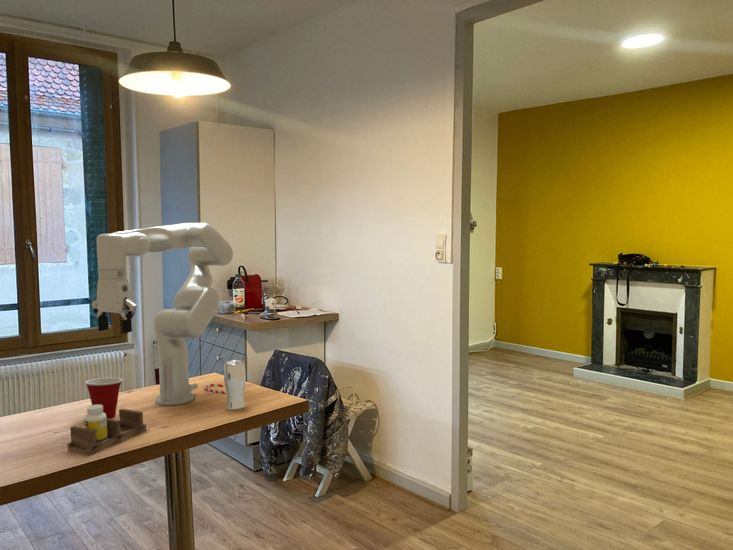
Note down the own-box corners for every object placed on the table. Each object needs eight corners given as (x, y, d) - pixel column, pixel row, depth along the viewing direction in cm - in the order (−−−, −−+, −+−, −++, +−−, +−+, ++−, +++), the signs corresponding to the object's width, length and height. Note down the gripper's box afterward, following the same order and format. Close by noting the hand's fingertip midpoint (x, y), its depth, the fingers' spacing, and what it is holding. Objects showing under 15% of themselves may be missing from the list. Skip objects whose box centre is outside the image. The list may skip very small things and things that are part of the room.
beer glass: (239, 411, 191) (238, 365, 190) (220, 409, 193) (219, 364, 192) (250, 405, 197) (249, 360, 196) (232, 403, 200) (230, 359, 198)
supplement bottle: (81, 443, 161) (79, 408, 160) (97, 436, 166) (95, 402, 165) (96, 446, 159) (94, 410, 158) (112, 439, 164) (110, 404, 163)
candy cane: (222, 394, 208) (198, 386, 218) (222, 397, 208) (198, 389, 218) (240, 389, 213) (216, 382, 223) (240, 393, 213) (216, 385, 223)
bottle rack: (126, 427, 177) (125, 407, 176) (146, 431, 173) (145, 410, 173) (67, 451, 158) (66, 428, 158) (89, 456, 155) (87, 433, 155)
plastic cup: (131, 412, 191) (129, 375, 190) (111, 423, 181) (109, 384, 180) (100, 410, 193) (99, 374, 192) (79, 421, 183) (77, 383, 182)
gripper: (143, 274, 177) (146, 331, 179) (101, 273, 185) (104, 327, 186) (123, 277, 171) (126, 335, 172) (81, 275, 178) (84, 331, 179)
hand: (115, 331), depth 179 cm, fingers open, 9 cm apart
